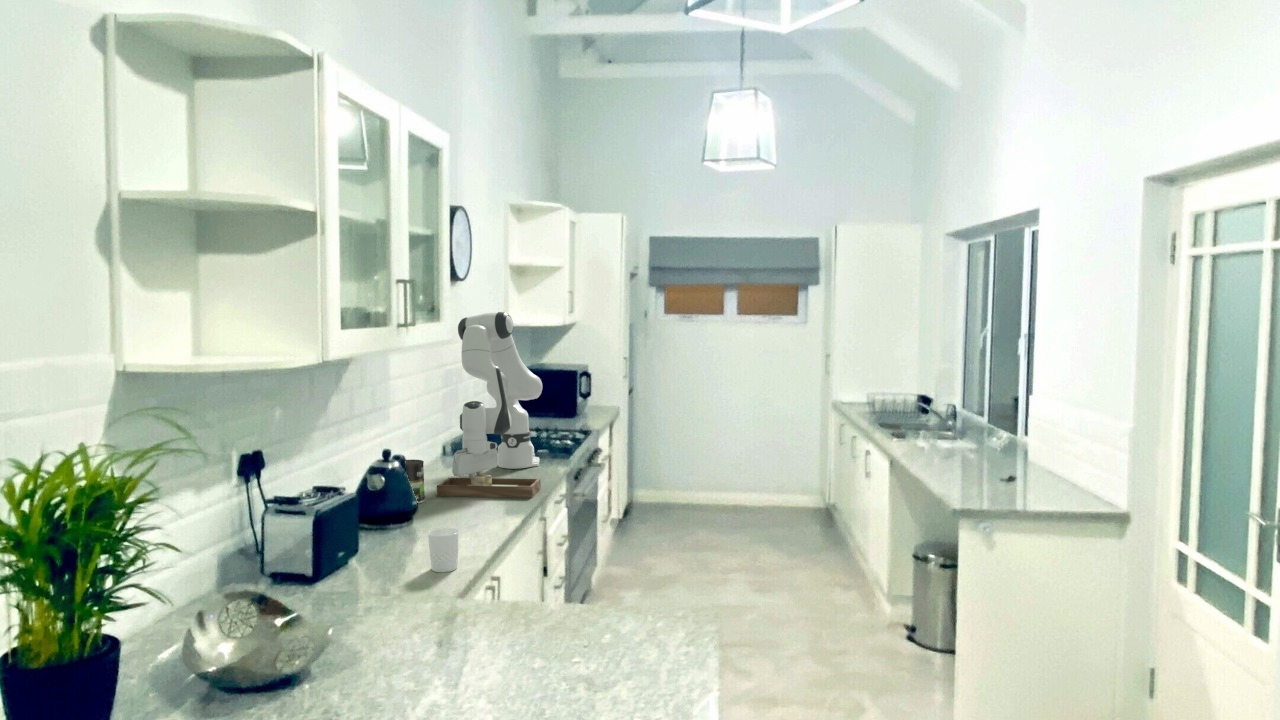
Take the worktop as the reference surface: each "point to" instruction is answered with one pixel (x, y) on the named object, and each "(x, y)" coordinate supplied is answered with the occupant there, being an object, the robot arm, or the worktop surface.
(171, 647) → the worktop surface
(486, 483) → the birch block
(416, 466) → the coffee can
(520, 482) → the track
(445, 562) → the white cup
